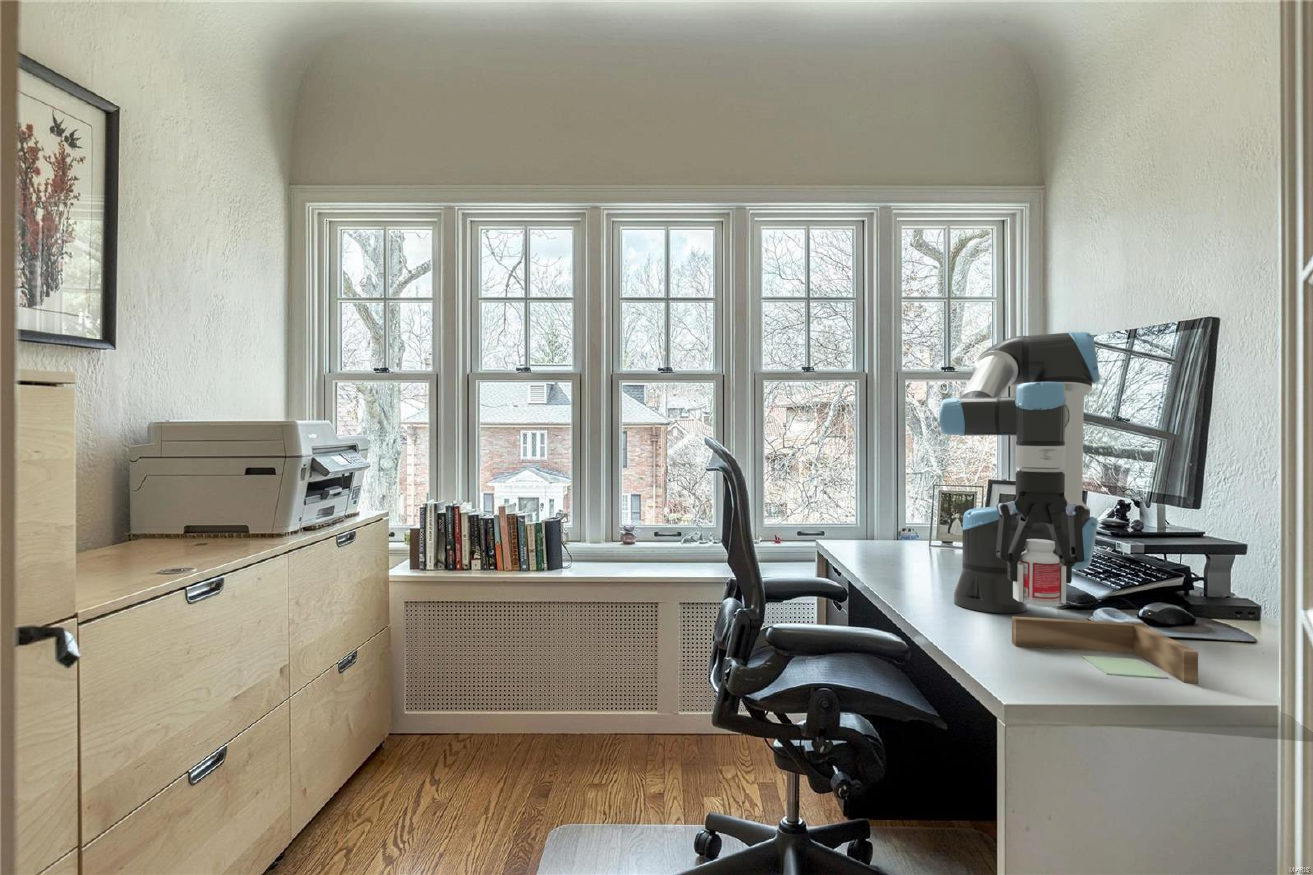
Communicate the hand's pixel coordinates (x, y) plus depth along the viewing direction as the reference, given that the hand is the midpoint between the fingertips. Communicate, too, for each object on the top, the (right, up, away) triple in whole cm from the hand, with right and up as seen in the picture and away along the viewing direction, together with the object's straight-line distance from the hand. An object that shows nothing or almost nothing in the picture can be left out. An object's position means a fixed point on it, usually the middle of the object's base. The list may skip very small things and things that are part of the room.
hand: (1039, 600), depth 117 cm
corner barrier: (+10, -11, 0) cm, 14 cm away
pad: (+12, -11, -4) cm, 17 cm away
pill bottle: (0, -1, 0) cm, 1 cm away
